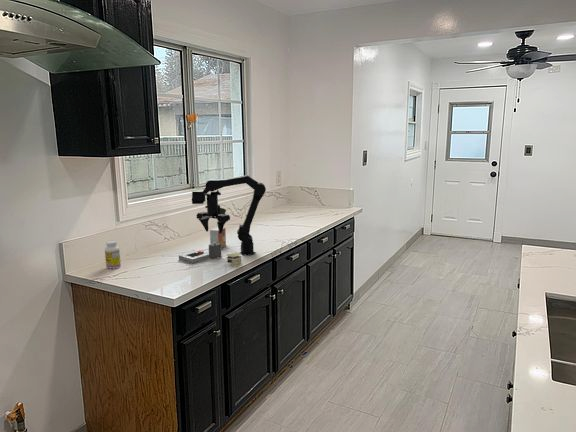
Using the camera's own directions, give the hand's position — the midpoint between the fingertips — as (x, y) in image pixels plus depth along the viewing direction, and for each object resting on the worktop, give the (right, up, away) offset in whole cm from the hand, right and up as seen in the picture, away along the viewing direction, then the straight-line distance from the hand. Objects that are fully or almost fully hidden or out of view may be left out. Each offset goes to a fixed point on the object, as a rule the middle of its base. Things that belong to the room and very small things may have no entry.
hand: (213, 232), depth 232 cm
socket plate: (-9, -14, -6) cm, 17 cm away
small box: (-1, -9, +18) cm, 20 cm away
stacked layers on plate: (+13, -16, -14) cm, 25 cm away
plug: (+1, -13, -2) cm, 13 cm away
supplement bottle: (-46, -17, -17) cm, 52 cm away
